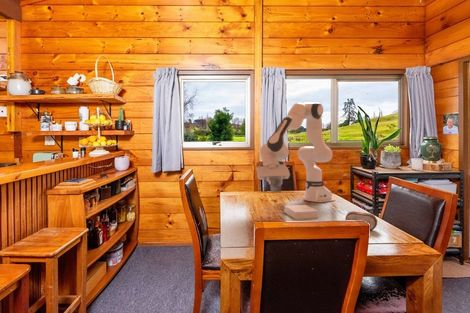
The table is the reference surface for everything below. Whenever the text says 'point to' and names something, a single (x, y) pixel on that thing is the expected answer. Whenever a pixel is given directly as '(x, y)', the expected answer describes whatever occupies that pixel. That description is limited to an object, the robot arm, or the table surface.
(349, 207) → the table surface
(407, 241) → the table surface
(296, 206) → the riser
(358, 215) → the grey rounded slab
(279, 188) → the block
